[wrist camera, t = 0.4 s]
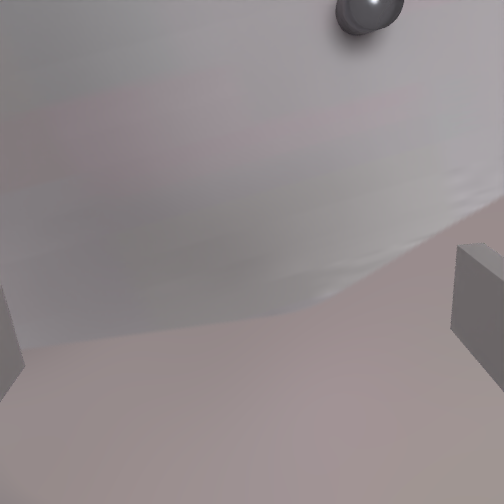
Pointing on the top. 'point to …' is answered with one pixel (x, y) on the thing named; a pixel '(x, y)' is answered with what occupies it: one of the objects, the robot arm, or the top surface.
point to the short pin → (367, 14)
